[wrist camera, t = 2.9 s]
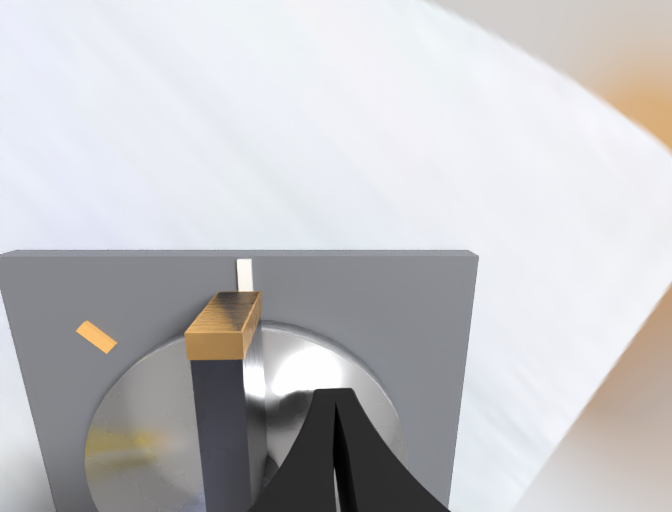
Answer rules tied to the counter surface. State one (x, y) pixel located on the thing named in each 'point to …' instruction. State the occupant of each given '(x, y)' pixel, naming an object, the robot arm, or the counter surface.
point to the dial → (220, 411)
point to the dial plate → (277, 304)
